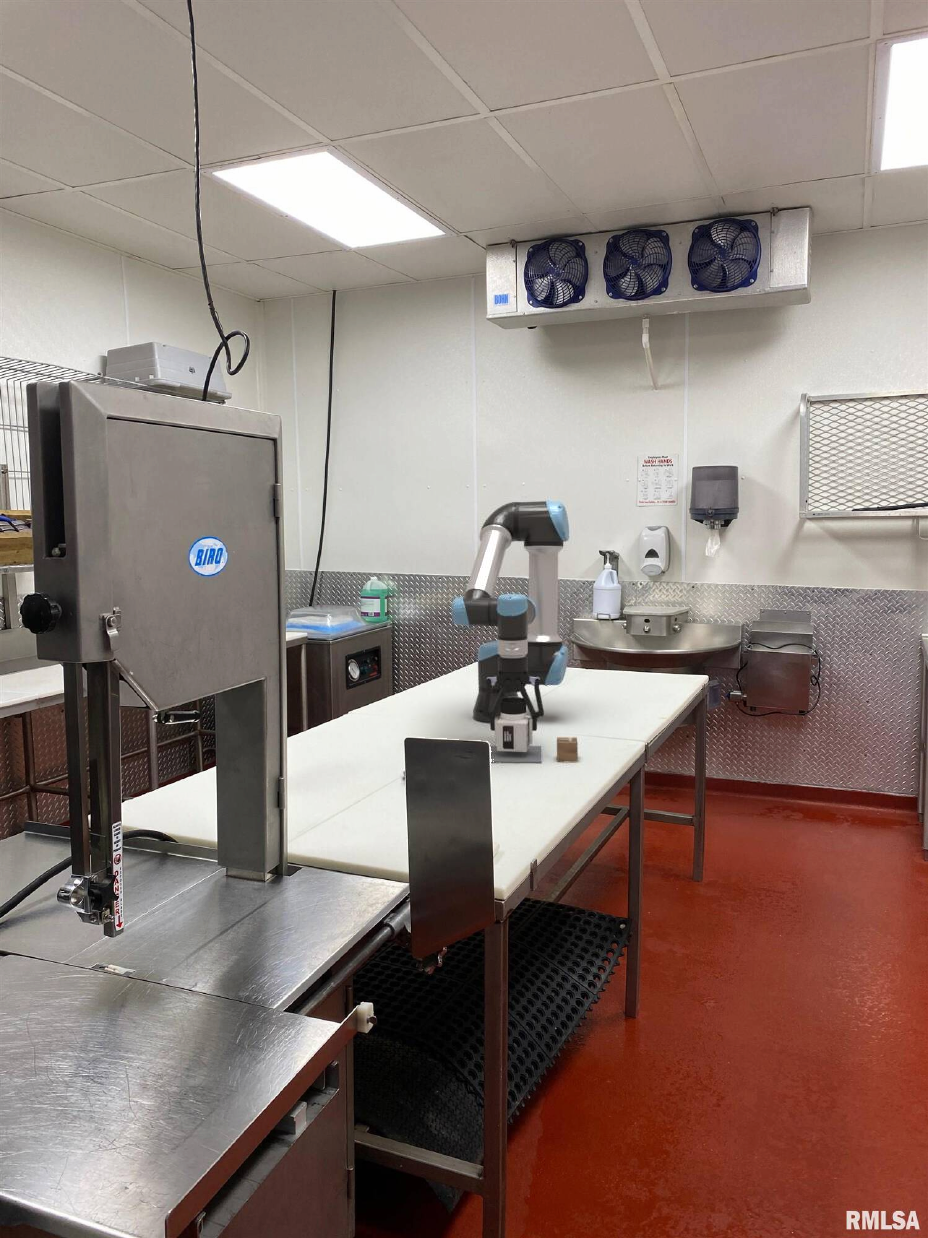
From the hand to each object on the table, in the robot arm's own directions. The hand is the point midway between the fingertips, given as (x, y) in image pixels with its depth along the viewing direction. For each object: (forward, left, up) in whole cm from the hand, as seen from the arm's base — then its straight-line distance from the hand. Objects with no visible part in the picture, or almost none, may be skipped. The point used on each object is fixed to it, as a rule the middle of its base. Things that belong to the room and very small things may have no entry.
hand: (513, 742), depth 222 cm
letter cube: (+3, +13, -3) cm, 14 cm away
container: (0, 0, -1) cm, 1 cm away
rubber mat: (0, 0, -3) cm, 3 cm away
